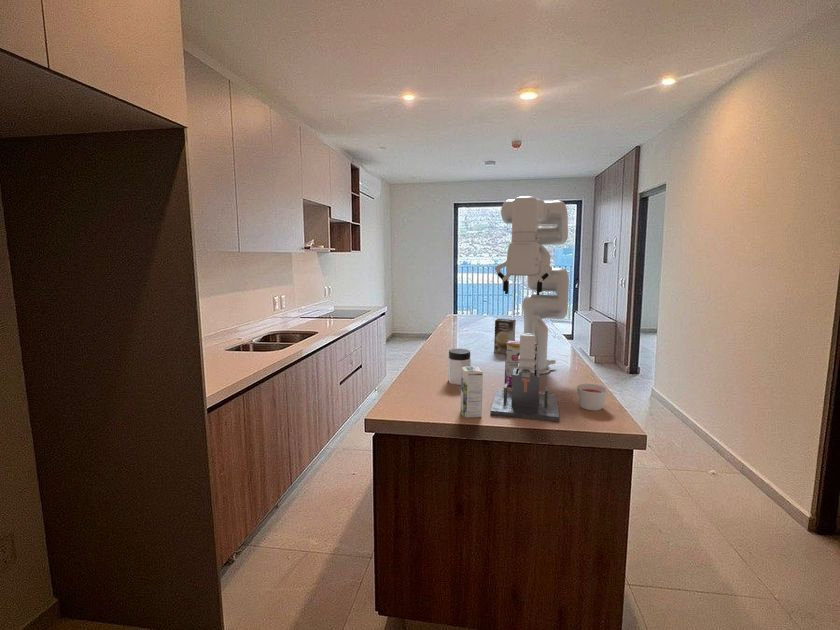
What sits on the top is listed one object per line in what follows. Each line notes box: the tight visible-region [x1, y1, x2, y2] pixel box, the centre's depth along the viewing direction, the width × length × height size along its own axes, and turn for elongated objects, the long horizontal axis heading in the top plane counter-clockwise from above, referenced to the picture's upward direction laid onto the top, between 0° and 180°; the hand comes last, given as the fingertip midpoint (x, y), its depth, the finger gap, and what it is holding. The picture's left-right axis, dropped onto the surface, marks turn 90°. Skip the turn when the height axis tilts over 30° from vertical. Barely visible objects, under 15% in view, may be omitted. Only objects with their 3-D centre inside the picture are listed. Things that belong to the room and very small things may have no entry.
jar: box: [447, 348, 472, 386], centre depth 164 cm, size 9×8×12 cm
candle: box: [576, 383, 608, 411], centre depth 138 cm, size 9×9×6 cm
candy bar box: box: [504, 340, 538, 387], centre depth 159 cm, size 11×5×16 cm, turn 71°
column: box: [518, 332, 535, 375], centre depth 137 cm, size 5×5×22 cm
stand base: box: [490, 368, 560, 423], centre depth 138 cm, size 20×20×13 cm
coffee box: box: [493, 318, 517, 355], centre depth 209 cm, size 9×6×16 cm
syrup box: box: [460, 365, 484, 419], centre depth 132 cm, size 6×6×14 cm
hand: (522, 294), depth 135 cm, fingers open, 9 cm apart
